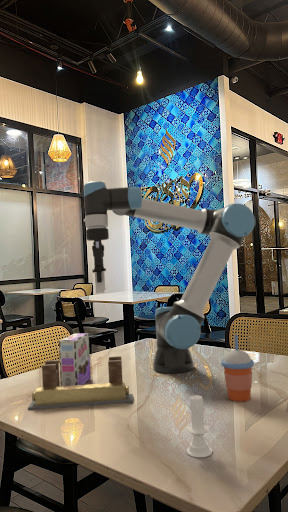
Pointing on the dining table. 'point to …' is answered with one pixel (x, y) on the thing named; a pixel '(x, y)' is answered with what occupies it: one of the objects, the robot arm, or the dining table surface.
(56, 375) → the post
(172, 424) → the dining table surface
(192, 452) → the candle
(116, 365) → the post
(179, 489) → the dining table surface
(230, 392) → the cup with straw
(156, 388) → the dining table surface
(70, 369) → the candy box
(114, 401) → the grey plank
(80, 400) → the rail
